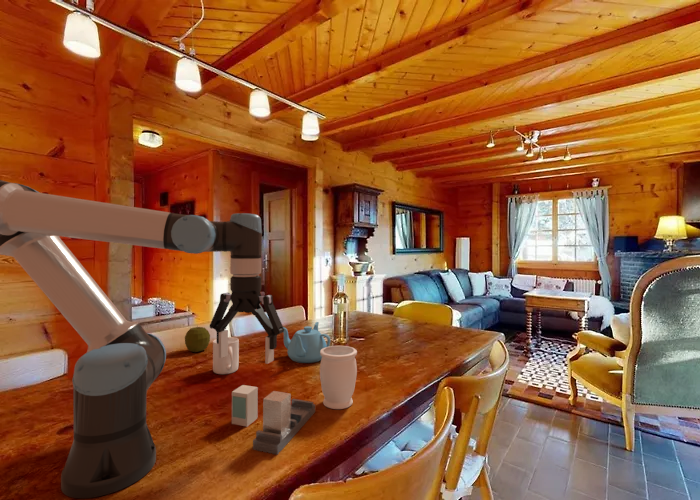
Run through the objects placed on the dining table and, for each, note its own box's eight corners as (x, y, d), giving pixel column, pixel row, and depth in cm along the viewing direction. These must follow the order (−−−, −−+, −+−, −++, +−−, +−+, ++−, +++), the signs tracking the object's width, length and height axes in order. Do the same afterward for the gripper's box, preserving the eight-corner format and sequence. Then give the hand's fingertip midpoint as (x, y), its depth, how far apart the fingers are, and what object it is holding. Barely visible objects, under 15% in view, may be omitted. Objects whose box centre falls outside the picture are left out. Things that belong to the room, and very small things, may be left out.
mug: (218, 380, 113) (218, 347, 113) (210, 369, 123) (210, 339, 123) (244, 374, 118) (244, 343, 118) (234, 364, 128) (235, 336, 128)
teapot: (277, 355, 139) (277, 325, 139) (317, 348, 150) (317, 320, 150) (295, 368, 125) (295, 334, 125) (338, 359, 135) (338, 328, 135)
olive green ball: (201, 355, 138) (201, 328, 138) (179, 353, 140) (179, 327, 140) (214, 348, 148) (214, 322, 148) (194, 346, 150) (194, 321, 150)
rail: (277, 454, 73) (277, 407, 73) (253, 449, 75) (253, 403, 75) (315, 411, 92) (315, 374, 92) (294, 408, 94) (295, 372, 94)
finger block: (246, 427, 84) (246, 394, 84) (230, 424, 85) (231, 392, 85) (257, 418, 88) (257, 387, 88) (242, 415, 90) (242, 384, 90)
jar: (336, 392, 105) (337, 343, 105) (363, 401, 98) (364, 349, 98) (311, 404, 96) (312, 350, 96) (339, 415, 90) (340, 358, 90)
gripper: (297, 275, 86) (297, 359, 87) (215, 272, 94) (214, 349, 94) (283, 278, 79) (282, 369, 79) (194, 274, 87) (194, 358, 87)
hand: (245, 359), depth 87 cm, fingers open, 13 cm apart
